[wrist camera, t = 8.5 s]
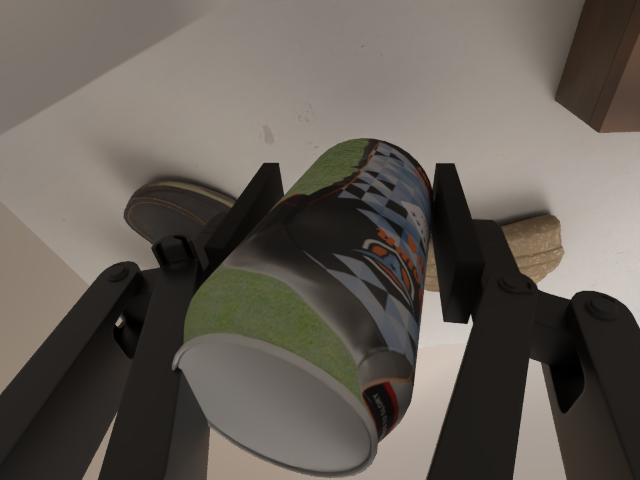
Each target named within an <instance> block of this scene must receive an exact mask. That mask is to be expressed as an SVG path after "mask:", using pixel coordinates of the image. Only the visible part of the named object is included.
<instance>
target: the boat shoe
mask: <svg viewBox="0 0 640 480" xmlns="http://www.w3.org/2000/svg"><path fill="white" fill-rule="evenodd" d="M235 202H236V201H235V200H233V199H231V198H229V197H227V196H225V195H223V194H220V193H218V192H215V191H211V190H210V189H207V188H204V187H201V186H197V185H194V184H189V183H184V182H177V181H162V182H154V183H150V184H146V185H144V186H142V187H140V188H139V189H138V190H137V191H136V192H135V193H134V194H133V195H132V197H131V198H130V200H129V202H128V204H127V206H126V208H125V211H124V219H125V221H126V222H127V224H128V225H129V226H130V227H131V228H132V229H133V230H134V231H135V232H137V233H138V234H139V235H141V236H142V237H143V238H145V239H146V240H147V241H149V242H150V243H151V244H153V245H154V243H155V242H157V241H158V240H159V239H161V238H163V237H165V236H167V235H171V234H176V233H183V234H187V235H188V236H190V237H191V240H192V242H193V241H194V240H195V238H196V237H197V236H198V235H199V233H201V231H202V229H203V228H204V227H205V226H206V224H207V223H208V222H209V220H210V219H211V218H212V217H214V216H215V215H217V214H218V213H220V212H229V211H230V209H231V208H232V207H233V205H234V204H235Z"/></svg>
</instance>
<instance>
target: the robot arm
mask: <svg viewBox="0 0 640 480" xmlns="http://www.w3.org/2000/svg"><path fill="white" fill-rule="evenodd" d="M432 191H433V202H434V204H433V213H432V222H431V234H432V242H433V249H434V256H435V263H436V270H437V277H438V285H439V292H440V299H441V306H442V313H443V320H444V322H451V323H463V324H468V321H469V317H470V314H471V316H472V321H473V326H472V329H471V333H470V336H469V339H468V342H467V345H466V349H465V352H464V356H463V359H462V362H461V365H460V369H459V372H458V375H457V379H456V382H455V385H454V389H453V392H452V395H451V398H450V402H449V405H448V408H447V411H446V415H445V418H444V421H443V425H442V428H441V431H440V434H439V438H438V441H437V444H436V448H435V451H434V454H433V457H432V461H431V464H430V467H429V471H428V474H427V477H426V480H513V473H514V465H515V458H516V451H517V444H518V436H519V429H520V422H521V414H522V407H523V400H524V392H525V385H526V378H527V370H528V363H529V358H531V359H533V360H536V361H539V362H541V365H542V369H543V374H544V378H545V382H546V388H547V392H548V397H549V401H550V406H551V410H552V415H553V419H554V424H555V428H556V432H557V437H558V442H559V446H560V451H561V456H562V460H563V465H564V469H565V473H566V478H567V480H640V328H639V326H638V324H637V322H636V320H635V318H634V316H633V314H632V313H631V312H630V310H629V309H628V308H627V307H626V306H625V305H624V304H623V303H621V302H620V301H618V300H617V299H615V298H613V297H611V296H609V295H606V294H603V293H599V292H595V291H581V292H578V293H576V294H575V295H574V296H573V297H572V299H571V300H569V299H566V298H562V297H558V296H555V295H551V294H548V293H545V292H542V291H540V290H538V288H537V285H536V284H535V283H534V281H533V280H532V279H531V278H529V277H528V276H526V275H525V274H522V273H521V272H520V270H519V268H518V265H517V263H516V261H515V258H514V256H513V254H512V251H511V249H510V247H509V244H508V242H507V239H505V238H506V237H505V235H504V232H503V230H502V228H501V227H500V226H499V225H497V224H496V223H495V222H494V221H493V220H478V219H472V217H471V214H470V211H469V208H468V205H467V202H466V198H465V195H464V192H463V189H462V186H461V183H460V180H459V176H458V173H457V170H456V167H455V164H454V163H436V168H435V175H434V182H433V189H432ZM283 196H284V192H283V186H282V180H281V174H280V168H279V163H263V165H262V166H261V168H260V169H259V170H258V172H257V173H256V174H255V176H254V177H253V179H252V180H251V181H250V183H249V184H248V186H247V187H246V188H245V190H244V191H243V193H242V194H241V195H240V197H239V198H238V200H237V201H236V202H235V204H234V205H233V207H232V208H231V209H230V211H229V212H220V213H218V214H217V215H215V216H214V217H212V218H211V219H210V220H209V222H208V223H207V224H206V226H205V227H204V228H203V229H202V231H201V233H199V235H198V236H197V237H196V238H195V240H194V241H193V242H192V240H191V237H190V236H188V235H187V234H183V233H176V234H171V235H167V236H165V237H163V238H161V239H159V240H158V241H157V242H155V243H154V245H153V246H152V248H151V249H152V251H153V253H154V255H155V257H156V259H157V261H158V263H159V265H160V268H155V269H149V270H143V271H141V270H140V269H139V267H138V265H137V264H136V263H134V262H130V261H126V262H120V263H117V264H114V265H112V266H110V267H109V268H107V269H105V270H104V271H103V272H102V273H101V274H100V275H99V276H98V277H97V279H96V280H95V281H94V282H93V283H92V285H91V286H90V287H89V288H88V290H87V291H86V292H85V293H84V294H83V296H82V297H81V298H80V299H79V300H78V302H77V303H76V304H75V305H74V306H73V308H72V309H71V310H70V311H69V312H68V314H67V315H66V316H65V317H64V318H63V320H62V321H61V322H60V323H59V325H58V326H57V327H56V328H55V330H54V331H53V332H52V333H51V334H50V335H49V337H48V338H47V339H46V340H45V342H44V343H43V344H42V345H41V346H40V347H39V349H38V350H37V351H36V352H35V353H34V355H33V356H32V357H31V358H30V360H29V361H28V362H27V363H26V364H25V366H24V367H23V368H22V369H21V370H20V372H19V373H18V374H17V375H16V377H15V378H14V379H13V380H12V381H11V383H10V384H9V385H8V386H7V388H6V389H5V390H4V391H3V392H2V394H1V395H0V480H82V478H83V476H84V474H85V472H86V471H87V469H88V467H89V465H90V463H91V461H92V459H93V457H94V455H95V453H96V451H97V450H98V448H99V446H100V444H101V442H102V440H103V438H104V436H105V434H106V432H107V430H108V428H109V426H110V424H111V422H112V421H113V419H114V417H115V415H116V413H117V411H118V413H117V417H116V420H115V423H114V426H113V430H112V433H111V437H110V440H109V444H108V447H107V450H106V454H105V457H104V461H103V464H102V468H101V471H100V474H99V478H98V480H207V479H206V478H207V465H208V450H209V436H210V427H209V426H208V422H207V418H206V416H205V414H204V412H203V411H202V409H201V407H200V405H199V403H198V401H197V399H196V397H195V395H194V393H193V391H192V389H191V387H190V385H189V383H188V381H187V379H186V377H185V375H184V373H183V371H182V369H179V368H178V366H177V368H176V369H175V370H172V363H173V360H174V357H175V354H176V353H177V352H178V350H179V349H180V348H181V347H182V346H183V345H184V323H185V317H186V314H187V311H188V308H189V305H190V302H191V300H192V298H193V296H194V295H195V294H196V292H197V291H198V289H199V288H200V287H201V285H202V284H203V283H204V282H205V281H206V280H207V279H208V278H209V277H210V275H211V274H212V273H213V272H214V271H215V270H216V269H217V268H218V267H219V266H220V265H221V264H222V262H223V261H224V260H225V259H226V258H227V257H228V256H229V255H230V254H231V253H232V252H233V251H234V249H235V248H236V247H237V246H238V245H239V244H240V243H241V242H242V241H243V240H244V239H245V238H246V236H247V235H248V234H249V233H250V232H251V231H252V230H253V229H254V228H255V227H256V226H257V224H258V223H259V222H260V221H261V220H262V219H263V218H264V217H265V216H266V215H267V214H268V213H269V211H270V210H271V209H272V208H273V207H274V206H275V205H276V204H277V203H278V202H279V201H280V200H281V198H282V197H283ZM119 317H121V319H122V320H123V321H122V322H121V324H120V325H119V326H118V327H117V326H116V325H115V323H116V322H117V320H118V319H119Z"/></svg>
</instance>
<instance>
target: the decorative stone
mask: <svg viewBox="0 0 640 480" xmlns="http://www.w3.org/2000/svg"><path fill="white" fill-rule="evenodd" d="M501 228H502V230H503V232H504V235H505V237H506V238H505V239H507V242H508V244H509V247H510V249H511V251H512V254H513V256H514V258H515V261H516V263H517V265H518V268H519V270H520V272H521V273H522V274H525V275H526V276H528V277H529V278H531V279H532V280H533V281H534V283H535V284H536V283H537V282H539V281H541V280H542V279H543V278H544V277H545V276H546V275H547V274H548V273H550V272H552V271H553V270H554V269H555V268H556V267H557V266H558V265H559V263H560V261H561V259H562V256H563V255H564V253H565V252H564V250H563V247H562V246H561V235H560V234H561V227H560V221H559V220H558V219H557V218H556V217H555V216H553V215H542V216H538V217H535V218H531V219H527V220H523V221H519V222H515V223H512V224H509V225H505V226H502V227H501ZM424 289H425V290H427V291H434V292H439V285H438V277H437V270H436V263H435V256H434V249H433V242H432V238H430V240H429V250H428V259H427V268H426V277H425V286H424Z"/></svg>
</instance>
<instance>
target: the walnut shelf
mask: <svg viewBox="0 0 640 480" xmlns="http://www.w3.org/2000/svg"><path fill="white" fill-rule="evenodd" d="M555 101H557V102H558V103H559V104H561V105H562V106H563V107H565V108H566V109H567V110H569V111H570V112H571V113H573V114H574V115H575V116H577V117H578V118H580V119H581V120H582V121H584V122H585V123H586V124H588V125H589V126H590V127H591V128H593V129H594V130H595V131H597V132H598V133H610V132H640V0H586V1H585V4H584V8H583V11H582V14H581V17H580V20H579V24H578V27H577V30H576V33H575V36H574V40H573V43H572V46H571V49H570V52H569V56H568V59H567V62H566V65H565V68H564V72H563V75H562V78H561V81H560V84H559V88H558V91H557V94H556V97H555Z"/></svg>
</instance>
